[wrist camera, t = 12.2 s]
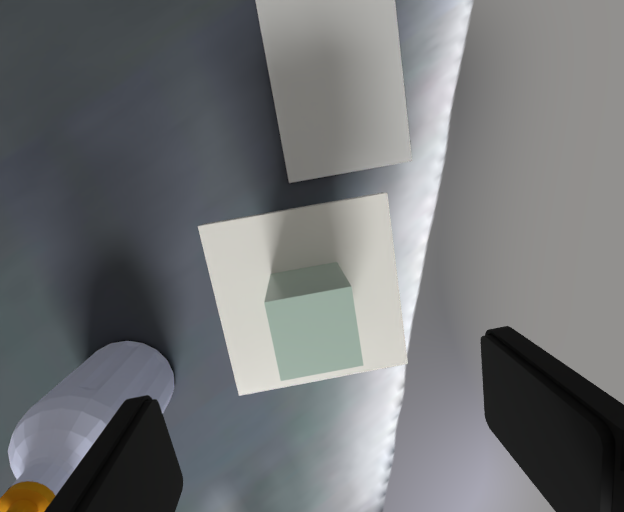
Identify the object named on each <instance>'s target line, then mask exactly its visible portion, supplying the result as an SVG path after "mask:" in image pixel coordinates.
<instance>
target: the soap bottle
mask: <svg viewBox="0 0 624 512" xmlns="http://www.w3.org/2000/svg"><path fill="white" fill-rule="evenodd" d="M173 390H174V373H173V371H172V369H171V367H170V365H169V363H168V360H167V359H166V358H165V357H164V356H163V355H162V354H161V353H160V352H159V351H158V350H156V349H154V348H152V347H150V346H148V345H146V344H144V343H140V342H133V341H122V342H116V343H110V344H108V345H107V346H105V347H103V348H101V349H99V350H97V351H96V352H95V353H94V354H93V355H92V356H90V357H89V358H88V359H87V360H86V361H85V362H83V363H82V364H81V365H80V366H79V367H78V368H76V369H75V370H74V371H73V372H72V373H71V374H69V375H68V376H67V377H66V378H65V379H64V380H62V381H61V382H60V383H59V384H58V385H57V386H56V387H54V388H53V389H52V390H51V391H50V392H49V393H47V394H46V395H45V396H44V397H43V398H42V399H40V400H39V401H38V402H37V403H36V404H35V405H33V406H32V407H31V408H30V409H29V410H28V411H27V413H26V414H25V415H24V416H23V417H22V419H21V420H20V421H19V422H18V424H17V426H16V428H15V430H14V432H13V434H12V437H11V441H10V445H9V448H8V454H9V460H10V466H11V469H12V471H13V473H14V475H15V477H16V479H17V480H16V481H15V482H14V483H13V485H12V486H11V487H10V488H9V489H8V490H7V491H6V493H5V494H4V495H3V496H2V497H1V498H0V512H44V511H45V510H46V508H47V507H48V506H49V504H50V503H51V502H52V500H53V499H54V497H55V496H56V495H57V493H58V492H59V490H60V489H61V488H62V486H63V485H64V484H65V482H66V481H67V479H68V478H69V477H70V475H71V474H72V473H73V471H74V470H75V468H76V467H77V466H78V464H79V463H80V461H81V460H82V459H83V457H84V456H85V455H86V453H87V452H88V450H89V449H90V448H91V446H92V445H93V444H94V442H95V441H96V439H97V438H98V437H99V435H100V434H101V433H102V431H103V430H104V428H105V427H106V426H107V424H108V423H109V421H110V420H111V419H112V417H113V416H114V415H115V413H116V412H117V410H118V409H119V408H120V406H121V405H122V404H123V402H124V401H125V400H126V399H130V398H135V397H140V396H145V395H149V396H150V397H151V398H152V400H153V399H156V400H157V401H158V402H159V405H160V408H161V411H162V414H163V412H164V410H165V408H166V407H167V405H168V403H169V401H170V399H171V396H172V393H173Z"/></svg>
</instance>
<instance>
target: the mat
mask: <svg viewBox="0 0 624 512" xmlns="http://www.w3.org/2000/svg"><path fill="white" fill-rule="evenodd" d="M255 1H256V6H257V12H258V17H259V23H260V28H261V33H262V39H263V44H264V50H265V55H266V61H267V66H268V71H269V77H270V82H271V88H272V93H273V99H274V104H275V110H276V115H277V120H278V126H279V131H280V137H281V142H282V148H283V153H284V158H285V164H286V169H287V175H288V180H289V183H292V182H298V181H304V180H309V179H315V178H321V177H326V176H332V175H337V174H343V173H349V172H354V171H360V170H366V169H371V168H377V167H382V166H388V165H394V164H399V163H405V162H411V161H412V156H411V146H410V137H409V127H408V118H407V109H406V99H405V90H404V80H403V71H402V62H401V52H400V43H399V33H398V24H397V14H396V5H395V0H255Z"/></svg>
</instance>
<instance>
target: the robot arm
mask: <svg viewBox="0 0 624 512" xmlns="http://www.w3.org/2000/svg"><path fill="white" fill-rule="evenodd" d="M481 357H482V374H483V392H484V410H485V418H486V422H487V424H488V426H489V428H490V429H491V431H492V432H493V433H494V434H495V436H496V437H497V438H498V439H499V441H500V442H501V443H502V445H503V446H504V447H505V448H506V450H507V451H508V452H509V453H510V455H511V456H512V457H513V458H514V460H515V461H516V462H517V463H518V465H519V466H520V467H521V468H522V470H523V471H524V472H525V474H526V475H527V476H528V477H529V479H530V480H531V481H532V482H533V484H534V485H535V486H536V487H537V489H538V490H539V491H540V492H541V494H542V495H543V496H544V497H545V499H546V500H547V501H548V502H549V504H550V505H551V506H552V507H553V509H554V510H555V511H556V512H624V405H623V404H622V403H620V402H619V401H617V400H616V399H614V398H613V397H612V396H610V395H609V394H607V393H606V392H604V391H603V390H601V389H600V388H598V387H597V386H596V385H594V384H593V383H591V382H590V381H588V380H587V379H585V378H584V377H582V376H581V375H579V374H578V373H577V372H575V371H574V370H572V369H571V368H569V367H568V366H566V365H565V364H563V363H562V362H561V361H559V360H557V359H556V358H554V357H553V356H552V355H550V354H549V353H547V352H546V351H544V350H543V349H542V348H540V347H538V346H537V345H535V344H534V343H533V342H531V341H530V340H528V339H527V338H525V337H524V336H523V335H521V334H520V333H518V332H517V331H515V330H514V329H512V328H511V327H508V326H506V327H500V328H495V329H490V330H487V331H486V334H485V336H482V337H481ZM182 488H183V476H182V473H181V470H180V466H179V463H178V460H177V457H176V454H175V451H174V448H173V445H172V442H171V439H170V436H169V433H168V429H167V426H166V423H165V420H164V417H163V414H162V411H161V408H160V405H159V402H158V401H157V400H156V399H153V400H152V398H151V397H150V396H149V395H145V396H140V397H135V398H130V399H126V400H125V401H124V402H123V404H122V405H121V406H120V408H119V409H118V410H117V412H116V413H115V415H114V416H113V417H112V419H111V420H110V421H109V423H108V424H107V426H106V427H105V428H104V430H103V431H102V433H101V434H100V435H99V437H98V438H97V439H96V441H95V442H94V444H93V445H92V446H91V448H90V449H89V450H88V452H87V453H86V455H85V456H84V457H83V459H82V460H81V461H80V463H79V464H78V466H77V467H76V468H75V470H74V471H73V473H72V474H71V475H70V477H69V478H68V479H67V481H66V482H65V484H64V485H63V486H62V488H61V489H60V490H59V492H58V493H57V495H56V496H55V497H54V499H53V500H52V502H51V503H50V504H49V506H48V507H47V508H46V510H45V511H44V512H175V510H176V507H177V504H178V501H179V498H180V495H181V492H182Z"/></svg>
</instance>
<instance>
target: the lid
mask: <svg viewBox="0 0 624 512" xmlns="http://www.w3.org/2000/svg"><path fill="white" fill-rule="evenodd" d="M198 229H199V233H200V237H201V241H202V245H203V250H204V254H205V258H206V262H207V266H208V270H209V274H210V278H211V282H212V287H213V291H214V295H215V299H216V303H217V307H218V311H219V315H220V319H221V324H222V328H223V332H224V336H225V340H226V344H227V348H228V352H229V356H230V361H231V365H232V369H233V373H234V377H235V381H236V385H237V389H238V393H239V396H240V395H246V394H251V393H256V392H261V391H267V390H272V389H277V388H283V387H288V386H293V385H298V384H304V383H309V382H314V381H320V380H325V379H330V378H335V377H341V376H346V375H351V374H357V373H362V372H367V371H372V370H378V369H383V368H388V367H394V366H399V365H404V364H408V361H407V353H406V345H405V336H404V328H403V320H402V311H401V303H400V295H399V287H398V278H397V270H396V262H395V253H394V245H393V237H392V228H391V220H390V212H389V203H388V195H387V193H377V194H371V195H366V196H360V197H354V198H349V199H343V200H337V201H331V202H326V203H320V204H314V205H309V206H303V207H297V208H292V209H286V210H280V211H275V212H269V213H263V214H258V215H252V216H246V217H241V218H235V219H229V220H223V221H218V222H212V223H206V224H202V225H199V226H198Z"/></svg>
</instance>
